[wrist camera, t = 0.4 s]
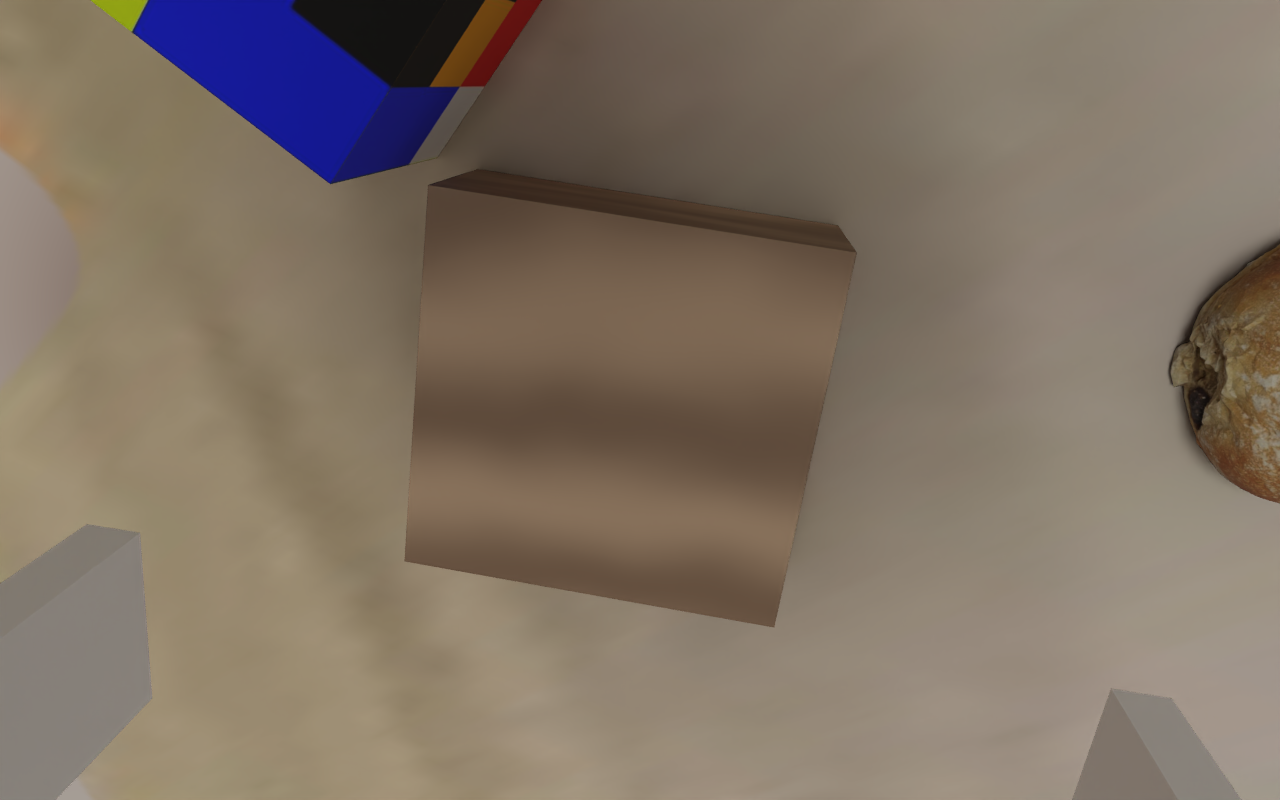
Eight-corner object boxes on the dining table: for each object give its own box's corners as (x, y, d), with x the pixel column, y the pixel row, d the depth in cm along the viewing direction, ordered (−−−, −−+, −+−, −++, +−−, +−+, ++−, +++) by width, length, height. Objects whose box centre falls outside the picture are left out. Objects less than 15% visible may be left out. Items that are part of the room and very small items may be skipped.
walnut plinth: (477, 169, 36) (428, 185, 30) (837, 225, 35) (856, 252, 30) (451, 494, 41) (404, 561, 35) (769, 550, 40) (774, 627, 34)
